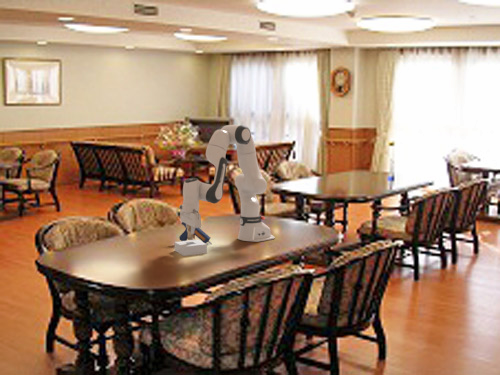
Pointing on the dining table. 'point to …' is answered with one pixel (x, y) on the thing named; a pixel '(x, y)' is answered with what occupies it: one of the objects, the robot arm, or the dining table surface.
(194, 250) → the hole block
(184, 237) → the glue gun
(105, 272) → the dining table surface
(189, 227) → the peg
